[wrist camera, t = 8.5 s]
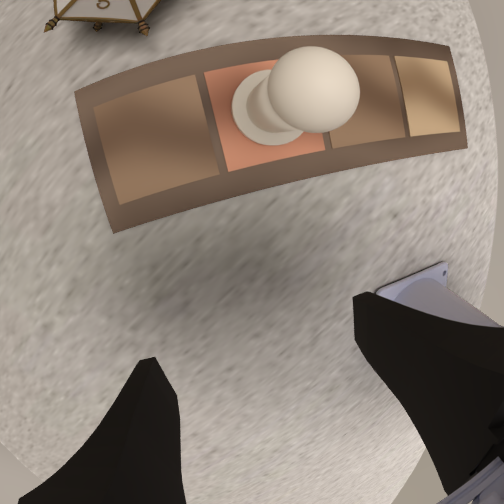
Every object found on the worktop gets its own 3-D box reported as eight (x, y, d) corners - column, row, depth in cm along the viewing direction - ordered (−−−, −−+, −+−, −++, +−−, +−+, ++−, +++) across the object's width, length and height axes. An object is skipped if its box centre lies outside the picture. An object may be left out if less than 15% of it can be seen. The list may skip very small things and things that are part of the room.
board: (465, 147, 19) (468, 148, 19) (114, 232, 17) (112, 234, 16) (446, 46, 16) (450, 46, 16) (76, 92, 13) (73, 91, 13)
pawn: (313, 137, 17) (399, 138, 9) (241, 153, 16) (284, 159, 9) (296, 68, 15) (372, 23, 7) (223, 80, 15) (251, 26, 7)
